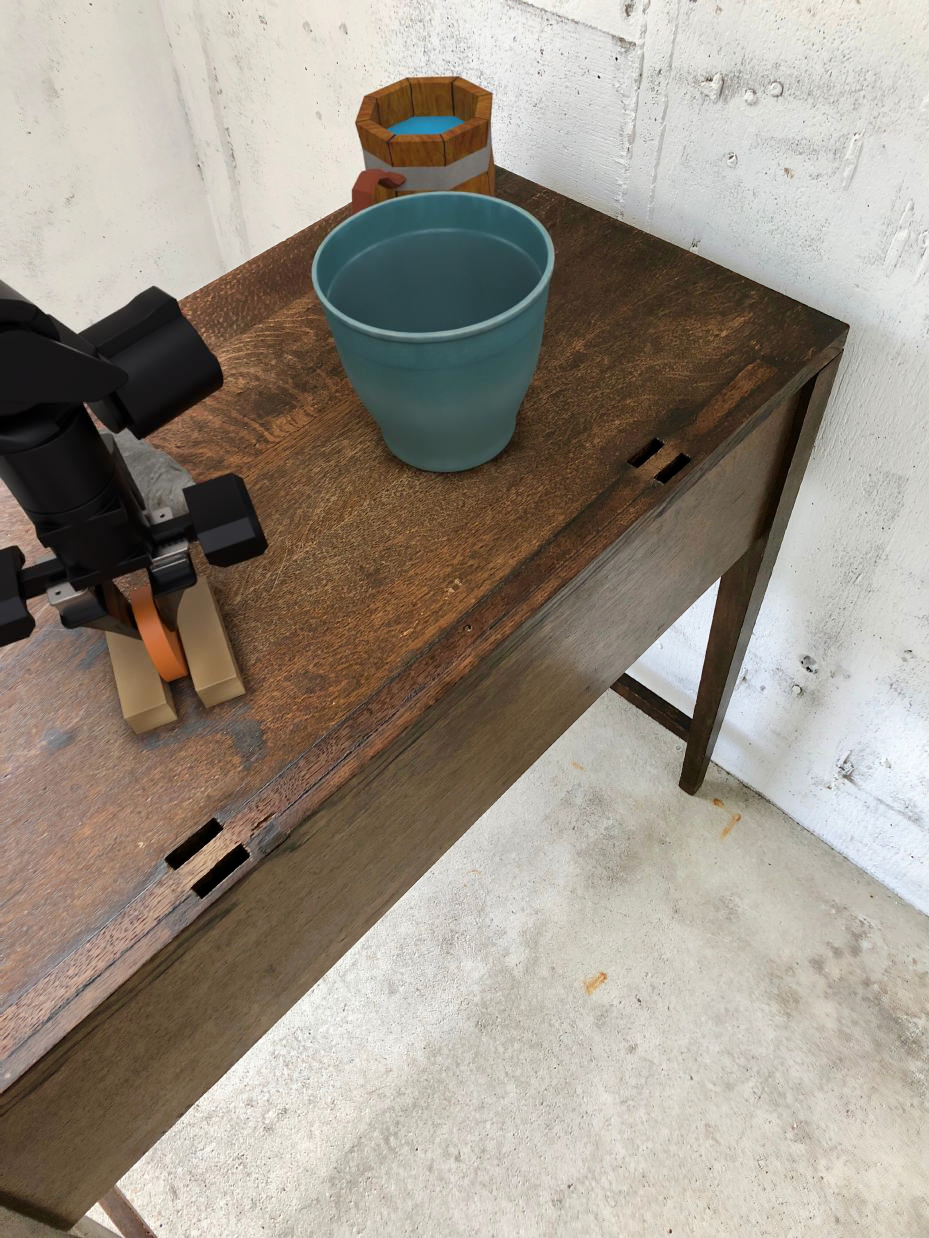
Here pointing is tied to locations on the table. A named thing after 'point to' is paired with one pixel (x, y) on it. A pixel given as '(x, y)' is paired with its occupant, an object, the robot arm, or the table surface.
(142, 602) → the disc
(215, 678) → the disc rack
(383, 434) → the flower pot
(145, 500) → the grey sweet potato
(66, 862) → the table surface
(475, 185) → the mug
